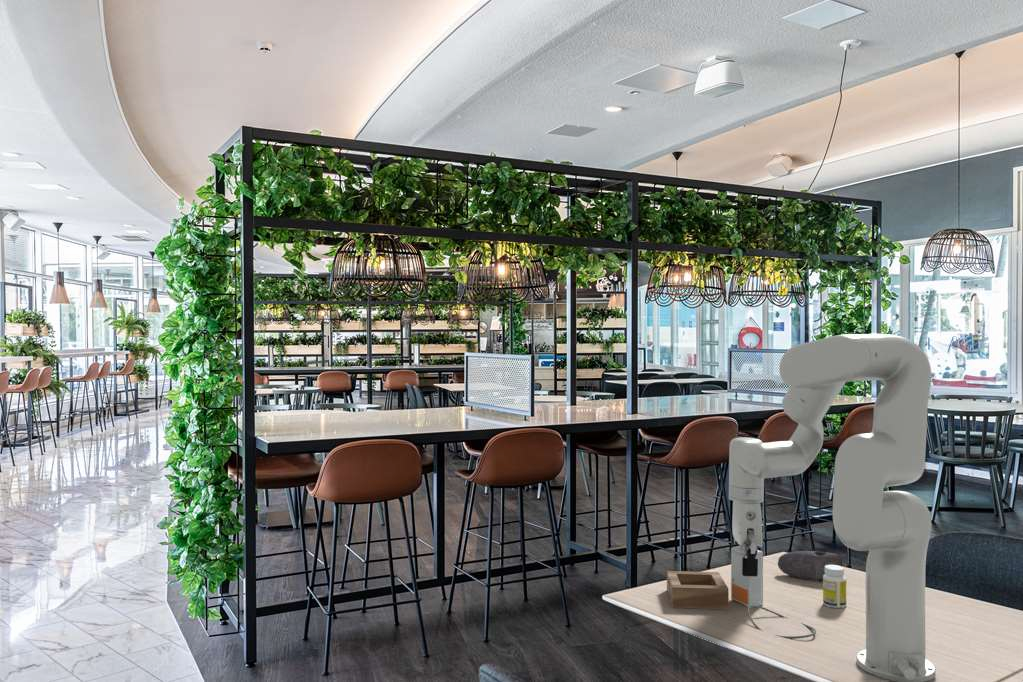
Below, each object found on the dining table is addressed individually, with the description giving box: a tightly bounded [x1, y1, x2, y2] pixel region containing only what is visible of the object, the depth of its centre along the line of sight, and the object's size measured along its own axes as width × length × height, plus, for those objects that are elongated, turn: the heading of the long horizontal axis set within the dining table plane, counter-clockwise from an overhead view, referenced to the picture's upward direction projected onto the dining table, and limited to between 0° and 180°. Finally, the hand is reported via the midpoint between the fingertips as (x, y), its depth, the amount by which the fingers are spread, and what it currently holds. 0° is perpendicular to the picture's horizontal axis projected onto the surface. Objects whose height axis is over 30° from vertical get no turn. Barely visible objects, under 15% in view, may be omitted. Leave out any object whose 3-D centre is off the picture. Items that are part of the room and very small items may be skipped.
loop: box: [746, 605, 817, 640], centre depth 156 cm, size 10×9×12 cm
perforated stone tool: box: [777, 550, 844, 581], centre depth 188 cm, size 15×5×7 cm, turn 60°
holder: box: [666, 570, 729, 610], centre depth 173 cm, size 12×12×4 cm
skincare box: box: [730, 546, 764, 608], centre depth 171 cm, size 6×4×12 cm
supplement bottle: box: [822, 565, 847, 609], centre depth 169 cm, size 5×5×8 cm
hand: (745, 568), depth 171 cm, fingers open, 9 cm apart
